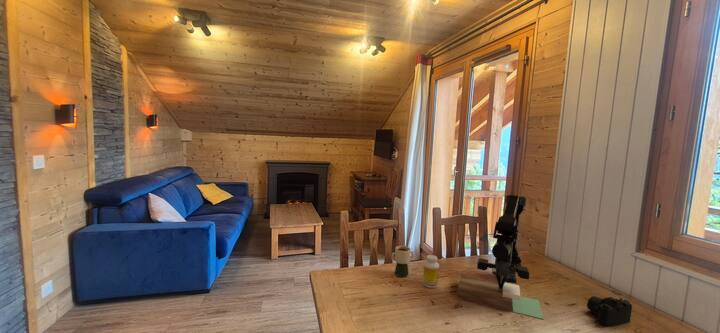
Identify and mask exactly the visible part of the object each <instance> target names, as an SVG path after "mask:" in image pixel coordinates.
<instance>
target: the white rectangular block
mask: <svg viewBox="0 0 720 333" xmlns="http://www.w3.org/2000/svg"><path fill="white" fill-rule="evenodd" d="M520 291H521V290H520V285H517V284H514V283H511V282H507V281H506V282H505V283H504V285H503V297H506V298H511V299H515V300H519V301H520V296H521V292H520Z"/></svg>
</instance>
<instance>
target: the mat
mask: <svg viewBox="0 0 720 333" xmlns="http://www.w3.org/2000/svg"><path fill="white" fill-rule="evenodd" d="M512 312H513V313H515V314H519V315H522V316H527V317H531V318H536V319H539V320H544V315H543V312H542V309H541V303H540V301H539V299H534V298H530V297H526V296H521V295H520V301H519V300H515V299H512Z"/></svg>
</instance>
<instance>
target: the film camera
mask: <svg viewBox="0 0 720 333" xmlns="http://www.w3.org/2000/svg"><path fill="white" fill-rule="evenodd" d="M586 307H587V309H588V310H590V312H591V313H593V314H595V315H596V316H597V317H596V323H597V324H598V325H600V326H601V327H606V328H608V327H613V326H618V325H623V324H628V323H629V322H631V317H632V310H633V304H632V303H631V302H630V301H629V300H627V299H623V298H621V297H620V298H619V299H617V298H614V297H612V296H608V297H605V298H600V297H598V296H594V295H593V296H591V297H589V299H588V300H587V303H586Z"/></svg>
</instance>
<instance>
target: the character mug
mask: <svg viewBox="0 0 720 333" xmlns="http://www.w3.org/2000/svg"><path fill="white" fill-rule="evenodd" d="M394 248H395V249H394V252H392V253H391V260H393V261H395V262H396V265H395V269H394V270H395V271H394V274H395V275H396V276H398V277H401V278H405V277H408V276H409V266H408V264H409V263H411V259H413V258H414V254H415V253H414V251H412V250H411V247H409V246H406V245H396V246H395V247H394Z"/></svg>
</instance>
